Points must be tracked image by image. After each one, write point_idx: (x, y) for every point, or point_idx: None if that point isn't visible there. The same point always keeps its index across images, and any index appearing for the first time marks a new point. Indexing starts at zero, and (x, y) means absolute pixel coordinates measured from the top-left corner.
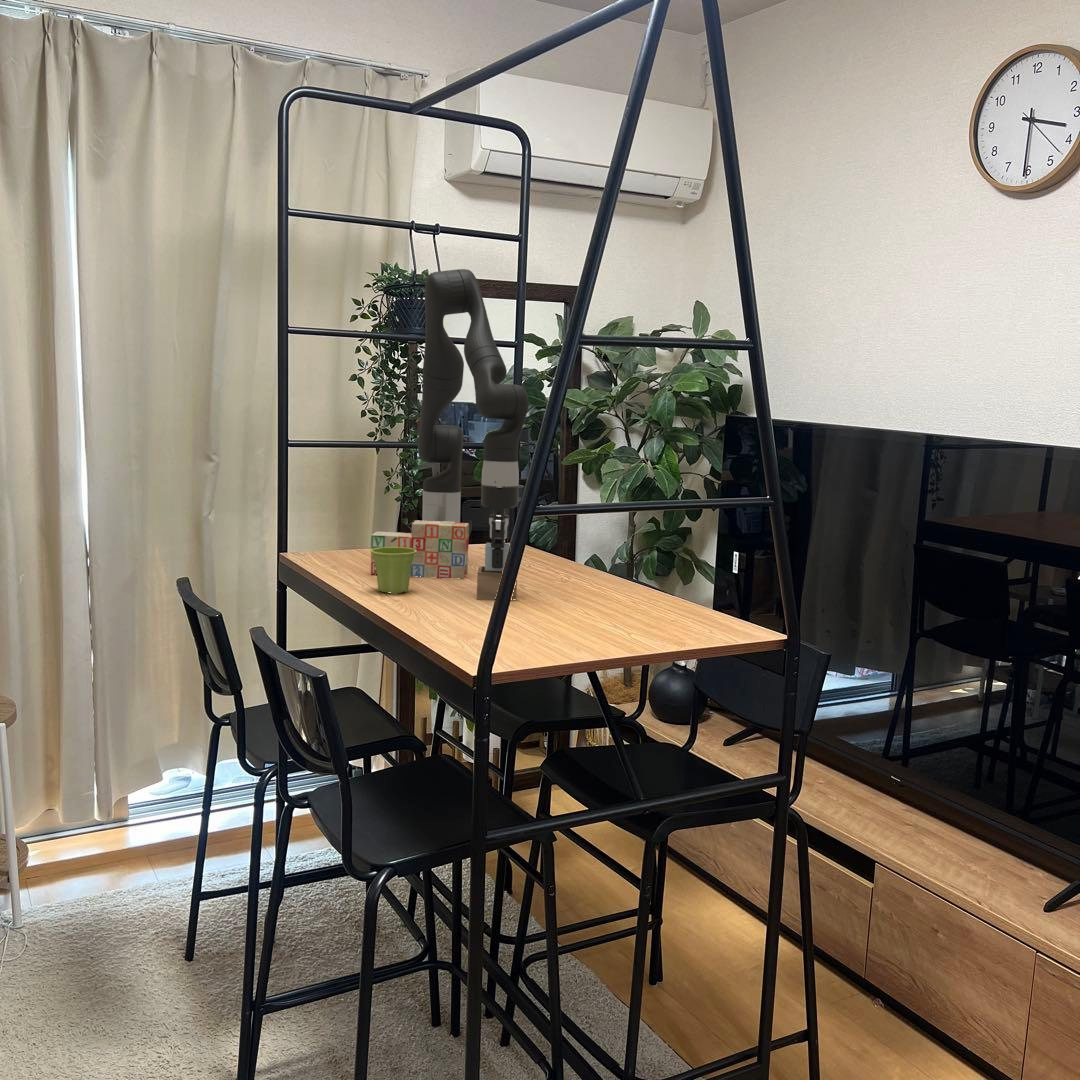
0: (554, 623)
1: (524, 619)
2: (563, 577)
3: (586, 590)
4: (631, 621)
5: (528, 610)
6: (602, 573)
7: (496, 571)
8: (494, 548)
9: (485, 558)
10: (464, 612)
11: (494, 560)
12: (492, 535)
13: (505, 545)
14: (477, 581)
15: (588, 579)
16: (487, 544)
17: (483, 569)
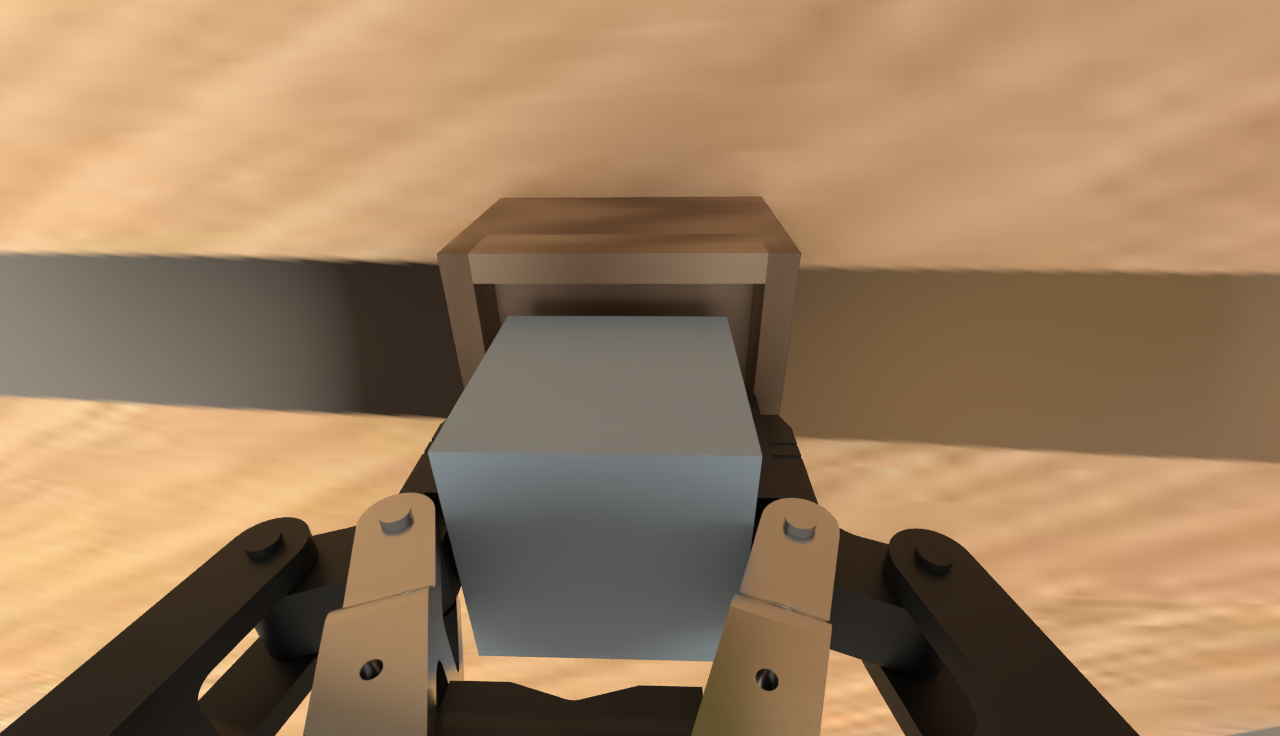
0: (116, 537)
1: (113, 441)
2: (1189, 612)
3: (834, 662)
4: (298, 717)
5: (316, 459)
6: (1243, 731)
7: (749, 378)
8: (331, 534)
9: (479, 372)
10: (74, 140)
11: (430, 445)
12: (80, 680)
13: (568, 626)
14: (463, 233)
15: (1103, 684)
16: (587, 471)
17: (761, 285)
